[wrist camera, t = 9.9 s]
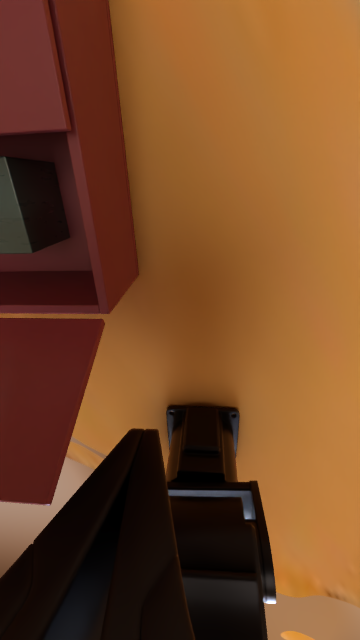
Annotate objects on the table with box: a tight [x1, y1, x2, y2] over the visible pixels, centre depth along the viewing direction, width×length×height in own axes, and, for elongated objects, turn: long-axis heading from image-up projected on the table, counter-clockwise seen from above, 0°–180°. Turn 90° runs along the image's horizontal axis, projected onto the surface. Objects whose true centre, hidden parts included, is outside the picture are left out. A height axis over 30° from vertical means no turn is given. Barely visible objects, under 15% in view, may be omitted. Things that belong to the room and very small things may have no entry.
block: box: [0, 156, 70, 254], centre depth 15 cm, size 4×4×4 cm
